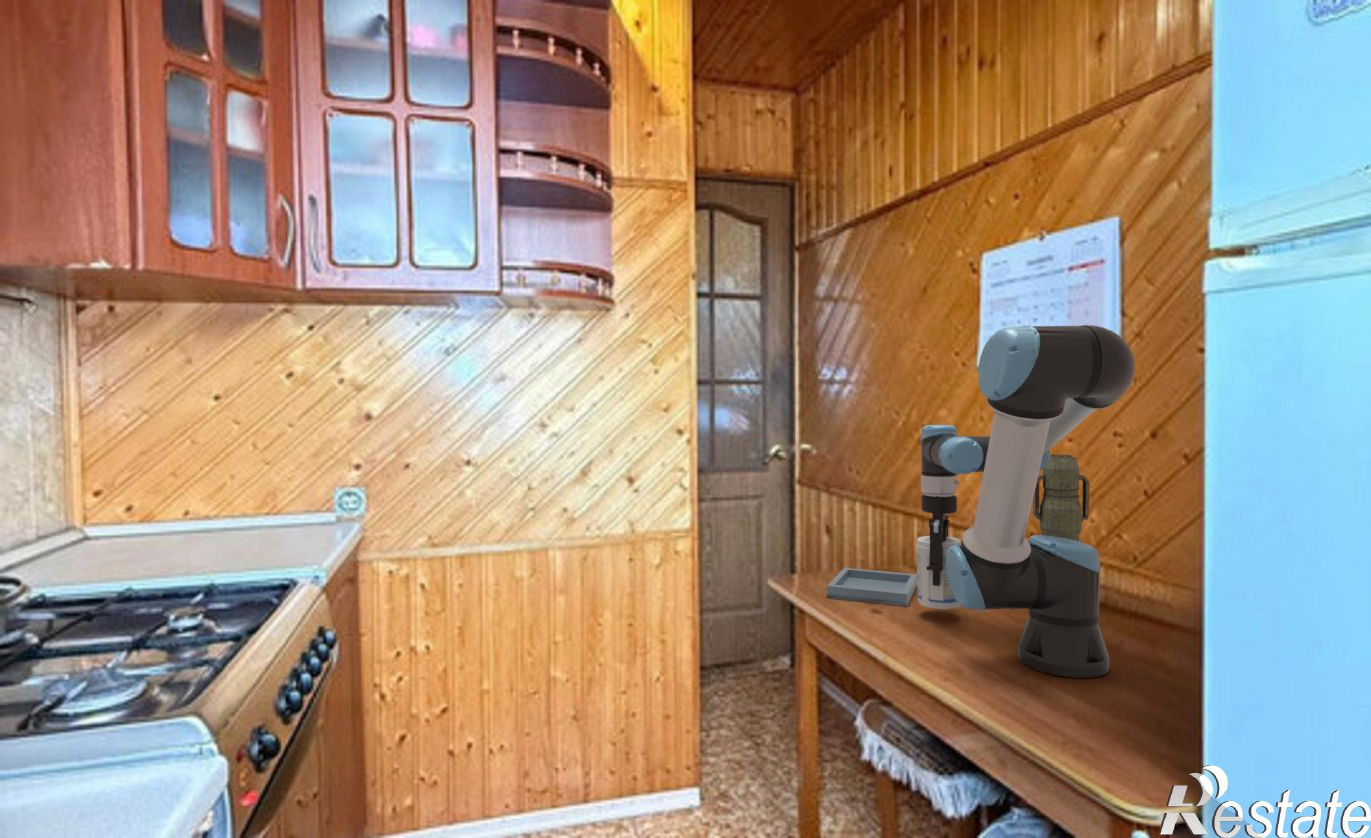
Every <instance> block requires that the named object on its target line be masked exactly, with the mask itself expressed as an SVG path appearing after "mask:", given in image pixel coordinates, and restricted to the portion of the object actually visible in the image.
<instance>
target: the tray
mask: <svg viewBox="0 0 1371 838" xmlns="http://www.w3.org/2000/svg"><path fill="white" fill-rule="evenodd" d="M916 590H917V573H916V574H915V573H903V572H894V571H885V570H884V571H882V570H871V569H863V568H862V569H861V568H851V567H850V568H849V567H843V568H842V570H840V571H839V572H838V574H836V576H835V577H834V578H832V580H831V581H830V582H829V583H828V584H827V585H826V598H827V599H834V600H835V599H836V600H842V601H851V602H852V601H853V602H860V603H861V602H862V603H869V604H879V605H887V606H896V607H897V606H898V607H905V606H906V607H909V606H908V605H909V604H910V602H911V600H912V598H913V596H914V594H915V592H916Z"/></svg>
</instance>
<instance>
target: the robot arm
mask: <svg viewBox="0 0 1371 838" xmlns="http://www.w3.org/2000/svg"><path fill="white" fill-rule="evenodd" d="M977 366H978V368H977V374H978V375H979V376H978V378H977V380H978V387H979V390H980V393H982V395H983V396H984V397H985V398H986V399H987V400H986V403H987V406H988V407H989V408H990V409H991V410H992V411H993V412H994V414H993V418H992V419H993V420H992V425H991V431H990V435H975V436H974V435H971V436H970V435H969V436H968V435H967V436H966V435H965V436H961V435H960V436H959V435H958V433H957V428H956V426H955V425H952V424H951V425H950V424H928V425H924V426H922V428H921V433H920V435H921V436H920V441H919V442H920V446H921V447H920V450H921V452H920V456H921V457H920V462H921V468H920V469H921V470H920V471H921V472H920V473H921V474H920V492H921V493H922V495H921V496H920V497H921V498H920V499H921V502H920V503H921V511H922V512H924V513H927V514H929V513H930V514H932V517H931V518H930V519H929V521H928V527H929V535H928V536H929V537H930V559H929V566H927V570H930V599H931V600H941V601H943V600H944V570H943V547H942V543H943V542H944V541H946V537H949V532H950V531H949V527H950V519H949V516H948V515H949V514H950V515H951V514H955V513H956V512H957V511H958V497H957V495H955V494H956V493H958V491H957V488H958V486H957V485H959V484H960V483H961V481H960V479H957V477H958V476H957V475H968V474H969V475H970V474H972V473H982V478H981V484H980V490H979V493H978V494H979V495H978V500H977V505H976V506H977V507H976V512H975V517H974V522H973V526H971V527H968V528H967V529H966V530H965V531H964V532H963V534H962V537H961V545H960V546H958V545H954V546H951V547H950V548H949V549H948V550H947V554H946V568H947V575H948V579H949V584H950V587H951V590H952V593H953V595H954V597H955V599H956V601H957V602H958V603H959V604H960V605H961V606H960V607H962V608H964V609H965V610H966V609H967V610H980V611H986V610H1027V609H1028V618H1027V621H1026V623H1025V626H1024V630H1023V632H1022V635H1021V637H1020V639H1019V642H1018V646H1017V647H1018V648H1017V657H1018V660H1019V662H1021V663H1022V664H1024V665H1025V666H1027V667H1029V668H1030V669H1034V670H1036V671H1038V672H1040V673H1046V674H1049V675H1054V676H1059V677H1065V678H1074V679H1075V678H1076V679H1088V678H1098V677H1101V676H1104V675H1106V674H1107V673H1109V671H1110V656H1109V652H1108V650H1107V647H1106V644H1105V640H1104V638H1103V635H1102V633H1101V629H1100V623H1099V622H1100V621H1099V619H1100V617H1099V616H1100V615H1099V614H1100V574H1101V573H1102V572H1101V566H1100V565H1101V563H1100V556H1099V552H1098V550H1097V549H1096V548H1095V547H1094V546H1093V545H1090V544H1088V543H1085V542H1081V541H1080V540H1079V541H1075V540H1070V539H1066V538H1060V537H1054V536H1046V535H1042V534H1036V535H1030V537H1029V539H1028V540H1027V539H1026V538H1025V535H1026V532H1027V527H1028V522H1029V519H1030V515H1031V510H1032V507H1033V497H1034V492H1035V488H1036V483H1037V479H1038V476H1039V475H1040V474H1039V473H1040V471H1043V469H1044V468H1045V467H1046V466H1047V465H1048V461H1049V459H1050V455H1051V449H1052V448H1053V447H1054V446H1056V445H1057V444H1058V443H1059V442H1060V441H1062V439H1064V438H1065V437H1066V436H1067V435H1068V434H1070V433H1071V432H1072V431H1073V430H1075V428H1076V427H1077V426H1079V425H1080V424H1081V423H1082V422H1083V421H1085V419H1087V418H1088V417H1089V416H1091V415H1092V414H1093V413H1094V412H1095V411H1096V410H1103V409H1107V408H1109V407H1111V406H1112V405H1113V404H1115V403H1116V402H1117V401H1118V400H1120V399H1121V398H1122V397H1123V396H1124V394H1126V393H1127V391H1128V389H1129V388H1130V386H1131V384H1132V383H1133V381H1134V378H1135V373H1136V361H1135V355H1134V353H1133V351H1132V350H1131V348H1130V346H1129V344H1128V343H1127V342H1126V340H1125V339H1123V337H1121V336H1120V334H1117V333H1116V332H1115V331H1113V330H1110V329H1108V328H1105V327H1102V326H1098V325H1094V324H1093V325H1090V324H1089V325H1088V324H1086V325H1085V324H1084V325H1029V324H1026V325H1025V324H1024V325H1020V326H1010V327H1002V328H1000V329H998V330H996V331H995V332H994V333H993V334H991V336H990V337H989V339H988V340H987V341H986V343H985V344H984V347H983V348H982V351H981V355H980V357H979V362H978V365H977ZM933 563H938V564H933Z"/></svg>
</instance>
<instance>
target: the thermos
mask: <svg viewBox="0 0 1371 838" xmlns="http://www.w3.org/2000/svg"><path fill="white" fill-rule="evenodd" d="M1077 460H1078V459H1077V458H1076V456H1073V455H1071V454H1050V459H1049V461H1048V465H1047V466H1046V467H1045V468H1044V469H1043V470H1042V473H1041V474H1038V479H1037V483H1036V488H1035V492H1034V497H1033V501H1032V515H1033V517H1035V518H1036V519H1037V520H1039V528H1040V531H1041V535H1046V536H1054V537H1060V538H1066V539H1070V540H1075V541H1079V542H1080V533H1081V532H1082V530H1083V529H1082V527H1083V526H1082V525H1083V524H1082V523H1083V522H1084V521H1086V520H1089V512H1090V511H1089V510H1090V480H1088V478H1087V477H1086V476H1085V475H1081V474H1080V467H1079V464H1078V461H1077ZM1041 481H1042V488H1043V493H1042V498H1041V502H1040V483H1041ZM1080 481H1082V506H1081V502H1080V495H1079V490H1080Z"/></svg>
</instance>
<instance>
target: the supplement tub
mask: <svg viewBox="0 0 1371 838" xmlns="http://www.w3.org/2000/svg"><path fill="white" fill-rule="evenodd" d="M929 536H930V535H926V536H925V535H924V536H919V537H918V538H917V539H916V574H917V588H916V590H917V602H918V603H919V605H921V606H923V607H926V608H929V609H937V610H953V609H957V608H959V607H962V606H961V605H960V604H959V603H958V602H957V601H956V599H955V597H954V595H953V593H952V590H951V587H950V584H949V579H948V575H947V568H946V554H947V550H948V549H949V548H950V547H951V546H954V545H958V546H960V545H961V543H962V541H961V539H959V538H957V537H952V536H948V537H946V541H944V542H943V543H942V547H943V570H944V600H943V601H941V600H931V599H930V570H927V566H929V559H930V537H929ZM933 564H938V563H933Z"/></svg>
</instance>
